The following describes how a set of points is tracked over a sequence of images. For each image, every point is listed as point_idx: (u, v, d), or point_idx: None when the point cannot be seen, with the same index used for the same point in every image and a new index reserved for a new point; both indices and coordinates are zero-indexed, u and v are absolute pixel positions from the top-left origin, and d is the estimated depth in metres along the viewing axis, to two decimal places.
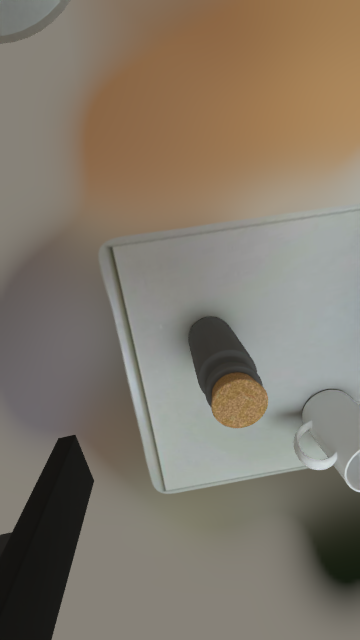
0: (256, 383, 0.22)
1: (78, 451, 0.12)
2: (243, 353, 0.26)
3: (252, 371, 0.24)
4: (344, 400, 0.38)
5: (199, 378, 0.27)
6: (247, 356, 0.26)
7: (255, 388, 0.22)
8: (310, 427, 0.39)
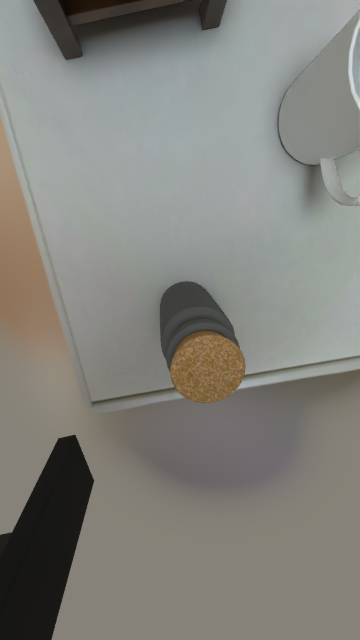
0: (177, 354, 0.17)
1: (78, 451, 0.12)
2: (166, 326, 0.21)
3: (174, 338, 0.18)
4: (291, 103, 0.23)
5: None
6: (170, 322, 0.20)
7: (184, 355, 0.17)
8: (330, 161, 0.25)
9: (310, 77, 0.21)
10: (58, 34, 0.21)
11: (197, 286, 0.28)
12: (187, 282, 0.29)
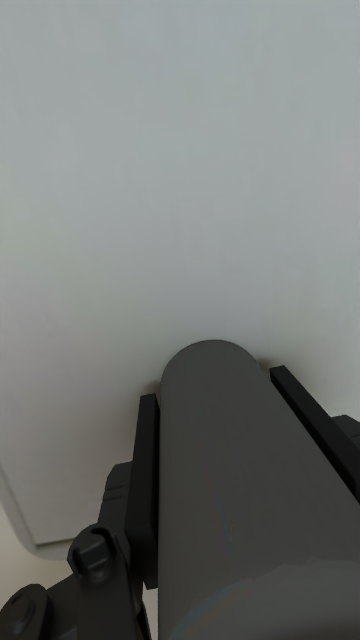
0: None
1: (158, 407, 0.14)
2: (178, 626, 0.05)
3: None
4: None
5: None
6: (194, 617, 0.05)
7: None
8: None
9: None
10: None
11: (242, 360, 0.13)
12: (217, 345, 0.14)
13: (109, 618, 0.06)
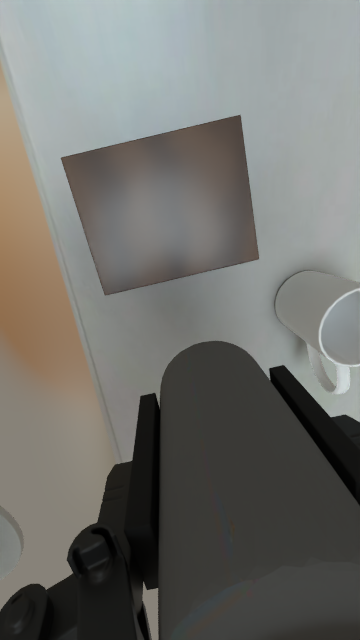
0: None
1: (158, 407, 0.14)
2: (179, 628, 0.05)
3: None
4: (284, 307, 0.32)
5: None
6: (195, 618, 0.05)
7: None
8: None
9: (296, 308, 0.30)
10: None
11: (242, 361, 0.13)
12: (217, 345, 0.14)
13: (109, 618, 0.06)
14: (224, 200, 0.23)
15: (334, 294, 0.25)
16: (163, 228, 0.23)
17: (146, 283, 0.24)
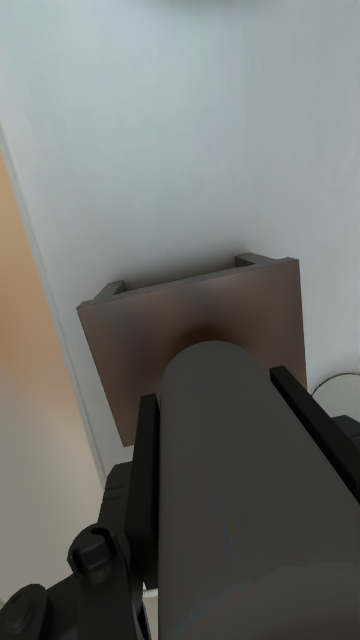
0: None
1: (158, 407, 0.14)
2: (178, 628, 0.05)
3: None
4: None
5: None
6: (195, 619, 0.05)
7: None
8: None
9: None
10: None
11: (242, 361, 0.13)
12: (217, 345, 0.14)
13: (109, 618, 0.06)
14: (272, 349, 0.19)
15: None
16: None
17: None
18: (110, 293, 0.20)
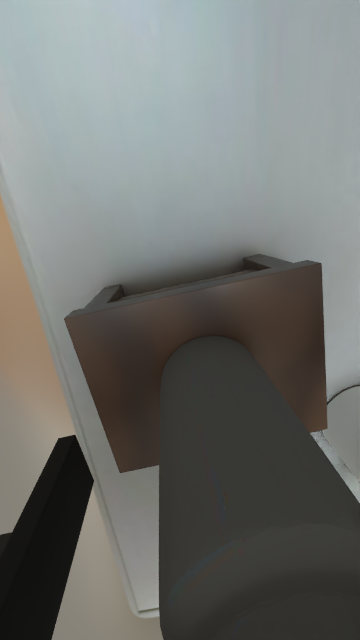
0: None
1: (78, 451, 0.12)
2: (177, 584, 0.06)
3: None
4: (337, 437, 0.26)
5: None
6: (191, 575, 0.06)
7: None
8: None
9: (358, 454, 0.23)
10: None
11: (239, 354, 0.13)
12: (215, 340, 0.15)
13: None
14: (288, 364, 0.16)
15: None
16: None
17: None
18: (105, 300, 0.18)
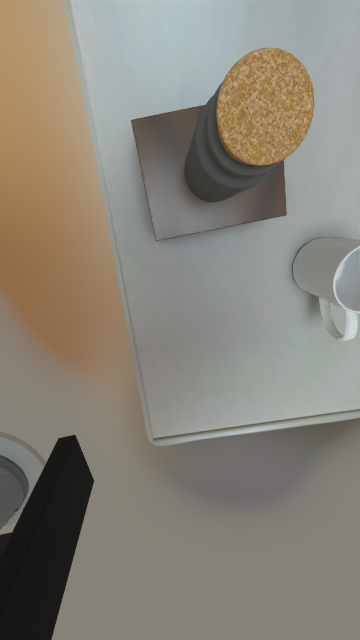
0: (227, 76, 0.13)
1: (78, 451, 0.12)
2: (203, 110, 0.17)
3: (219, 88, 0.14)
4: (301, 267, 0.37)
5: (238, 186, 0.18)
6: (208, 102, 0.17)
7: (237, 77, 0.13)
8: (326, 299, 0.38)
9: (313, 265, 0.34)
10: None
11: None
12: None
13: None
14: None
15: (348, 248, 0.30)
16: None
17: (191, 231, 0.29)
18: None
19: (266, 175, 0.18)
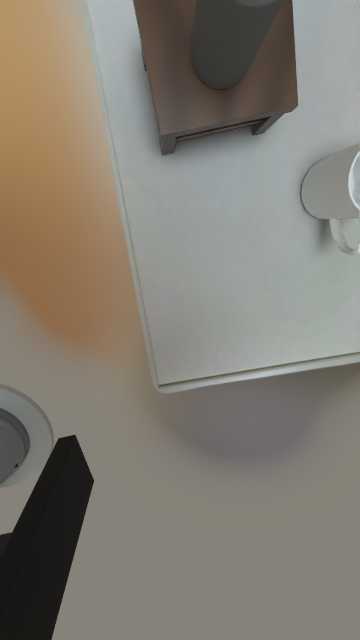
0: None
1: (78, 451, 0.12)
2: None
3: None
4: (311, 184, 0.35)
5: (254, 3, 0.16)
6: None
7: None
8: (337, 220, 0.37)
9: (324, 175, 0.33)
10: (166, 148, 0.33)
11: None
12: None
13: None
14: (271, 43, 0.26)
15: None
16: None
17: (197, 125, 0.27)
18: None
19: None
